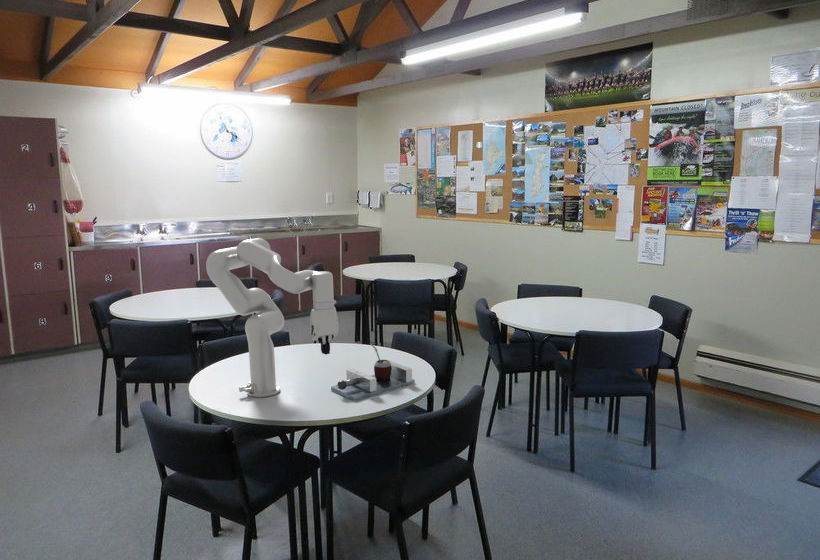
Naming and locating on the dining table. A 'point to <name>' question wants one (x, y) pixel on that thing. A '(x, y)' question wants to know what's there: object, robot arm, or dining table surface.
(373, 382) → the vise jaw
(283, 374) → the dining table surface
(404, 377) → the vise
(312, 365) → the dining table surface
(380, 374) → the mate gourd
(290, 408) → the dining table surface
